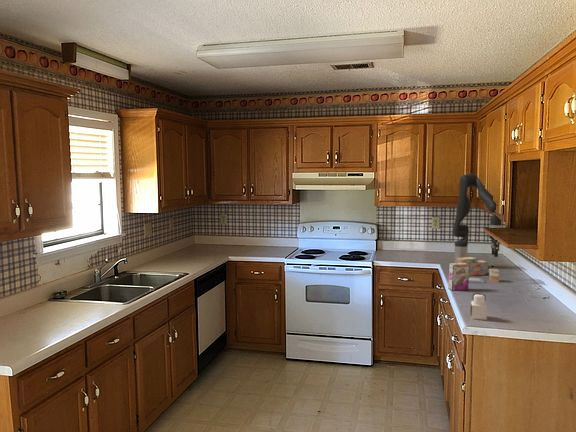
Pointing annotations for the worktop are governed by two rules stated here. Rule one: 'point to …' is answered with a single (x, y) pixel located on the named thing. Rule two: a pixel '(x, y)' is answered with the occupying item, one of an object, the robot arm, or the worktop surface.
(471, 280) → the base plate
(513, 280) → the worktop surface
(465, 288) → the candy bar box
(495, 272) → the cream and brown block
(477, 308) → the medicine bottle
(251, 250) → the worktop surface
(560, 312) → the worktop surface
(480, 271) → the stack of blocks
